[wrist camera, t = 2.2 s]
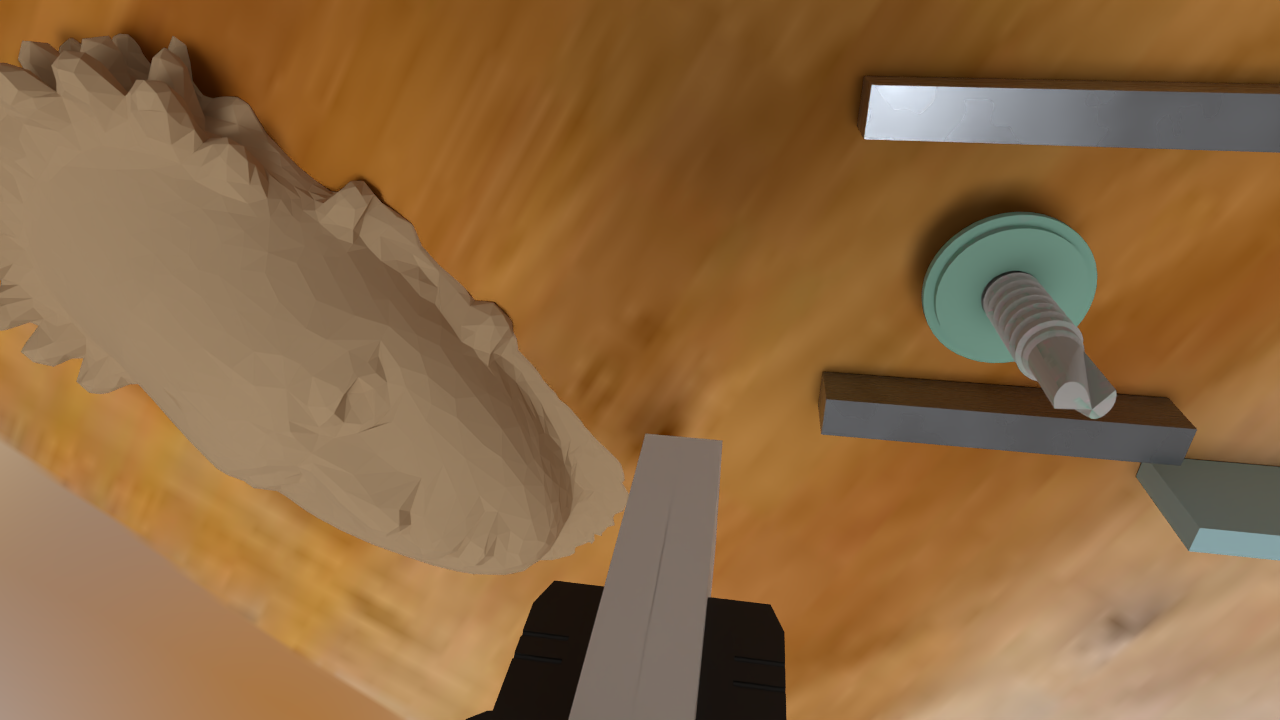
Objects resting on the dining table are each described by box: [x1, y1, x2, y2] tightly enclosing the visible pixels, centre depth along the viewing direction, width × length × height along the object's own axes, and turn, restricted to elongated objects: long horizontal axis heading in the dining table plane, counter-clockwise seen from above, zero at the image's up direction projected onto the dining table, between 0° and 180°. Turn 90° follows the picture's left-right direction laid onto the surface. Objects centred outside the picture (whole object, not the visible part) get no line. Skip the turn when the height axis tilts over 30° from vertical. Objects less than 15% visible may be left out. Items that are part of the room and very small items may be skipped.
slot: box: [818, 76, 1280, 466], centre depth 23 cm, size 12×12×2 cm
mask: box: [0, 34, 629, 575], centre depth 28 cm, size 15×7×30 cm
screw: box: [922, 212, 1116, 419], centre depth 21 cm, size 9×5×5 cm
